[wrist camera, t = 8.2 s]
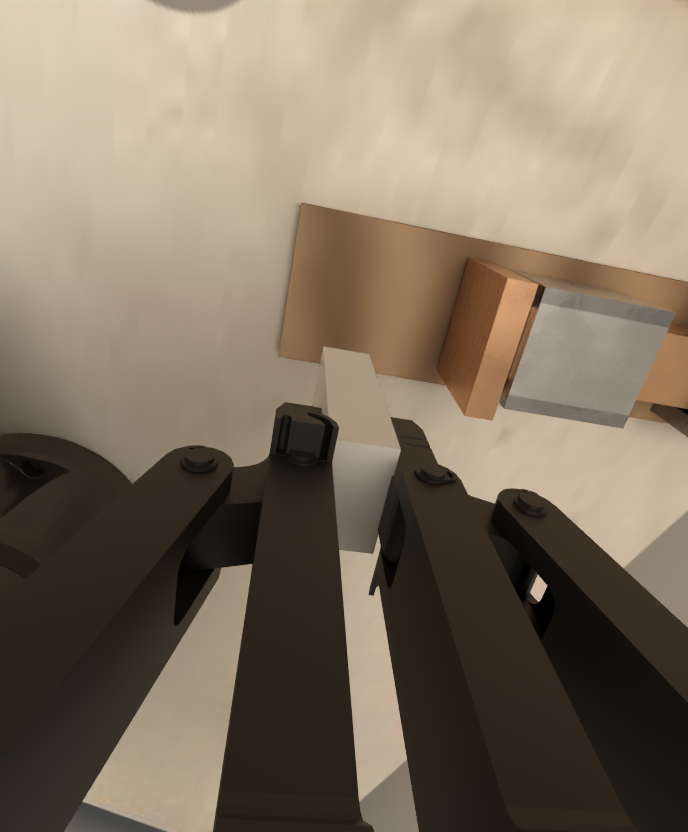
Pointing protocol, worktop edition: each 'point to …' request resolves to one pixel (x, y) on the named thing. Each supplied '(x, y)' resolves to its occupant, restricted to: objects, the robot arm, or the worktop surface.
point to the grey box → (672, 416)
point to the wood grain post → (501, 334)
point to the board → (415, 290)
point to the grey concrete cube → (584, 352)
